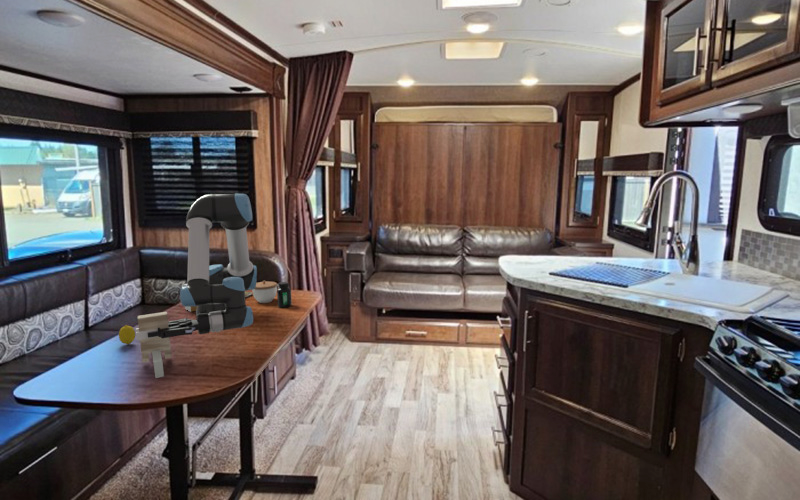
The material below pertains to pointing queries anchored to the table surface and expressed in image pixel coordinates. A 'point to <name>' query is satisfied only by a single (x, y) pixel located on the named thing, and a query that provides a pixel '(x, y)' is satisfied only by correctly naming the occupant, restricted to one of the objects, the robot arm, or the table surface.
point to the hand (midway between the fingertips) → (136, 334)
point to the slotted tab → (157, 342)
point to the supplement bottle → (284, 295)
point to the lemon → (126, 334)
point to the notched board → (158, 363)
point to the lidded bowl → (265, 291)
